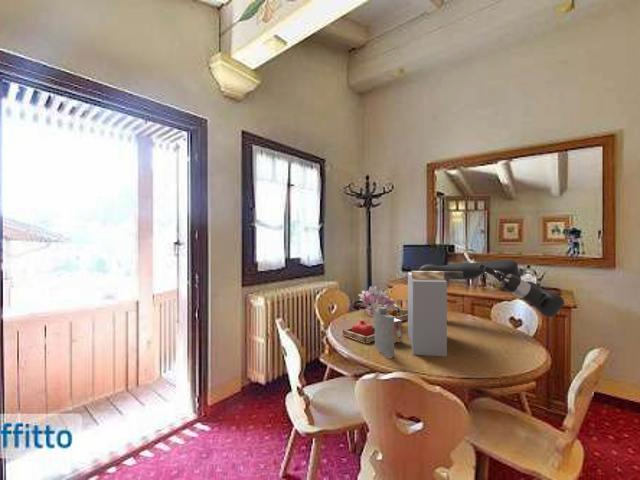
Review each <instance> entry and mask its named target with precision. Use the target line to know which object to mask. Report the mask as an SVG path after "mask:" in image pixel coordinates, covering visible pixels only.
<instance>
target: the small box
mask: <svg viewBox="0 0 640 480" xmlns="http://www.w3.org/2000/svg"><path fill="white" fill-rule="evenodd" d="M402 327H403V321H401V320H399V319H396V318H394V344H396V342H398V343H402V341H403V339H402V338H403V336H402V335H403V334H402V333H403V328H402Z"/></svg>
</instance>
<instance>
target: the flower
mask: <svg viewBox="0 0 640 480" xmlns="http://www.w3.org/2000/svg"><path fill="white" fill-rule="evenodd" d="M357 296H359V298H360V299H359V301H361V302H363V305H364V306H365V307H366V309H367V310H370V311H369V312H368V315H369V316H368V317H371V316H370V315H371V312H373V314H372V318H373V320H374V321H375V309H377V308H379V307H386V308H387V310H386V311H388V310H389V309H391V310H393V309H394V310H397V309H396V308H395V306H394V305H393V304H396V301H395V299H394V298H390V296H388V295H387V292H386V291H384V290H382V289H377V286H375V285H373V286H372V285H371V286H369V288H368V290H366V291H365V290H361V293H359V294H358V295H357ZM380 304H381V305H380ZM384 305H385V306H384ZM374 307H375V308H374ZM397 312H398V310H397ZM387 314H388V313H387ZM370 325H371V326H372V327H375V323H371V324H370Z"/></svg>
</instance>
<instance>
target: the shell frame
mask: <svg viewBox="0 0 640 480" xmlns="http://www.w3.org/2000/svg"><path fill="white" fill-rule="evenodd" d="M374 308H375V307H374ZM400 310H401V311H400V314H399V316H397V317H395V316H394V318H396V319H399V320H401V321H402V322H404V321H405V322H406V321H408V309H406V308H405V309H403V308H400ZM363 311H364V315H365V314H367V315H368V312H369V311H370V310H367V308H366V309H363ZM372 314H373V312H371V316H372ZM403 314H404V315H403ZM367 315H366V316H367ZM371 316H370V317H371Z"/></svg>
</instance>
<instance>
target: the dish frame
mask: <svg viewBox="0 0 640 480" xmlns="http://www.w3.org/2000/svg"><path fill="white" fill-rule="evenodd" d="M352 327H353V326H351V327H347V328H344V329H342V335H343V334H344V335H346V336H349V337H352V338H355V339H357V340H360V341H363V342H367V343H369V342H372V341H375V334H373V335H370V336H367V337H366V336H363V335H360V334H357V333H354V332H352ZM372 327H373V326H372ZM373 331H374V333H375V327H373ZM367 343H366V344H367ZM372 343H373V342H372ZM369 344H370V343H369Z"/></svg>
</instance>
